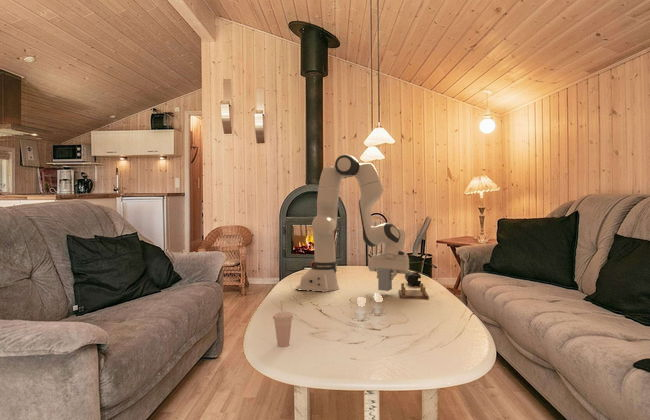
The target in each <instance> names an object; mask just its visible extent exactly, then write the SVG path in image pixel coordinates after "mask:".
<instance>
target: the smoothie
mask: <svg viewBox="0 0 650 420" xmlns="http://www.w3.org/2000/svg"><path fill="white" fill-rule="evenodd" d="M293 318H294V316H293V313H291V312H285V311H284V312H283V300H280V312H277V313H274V314H273V315H272V319H273V321H274V329H275V336H276V343H277V344H276V345H277V346H278V347H280V348H283V347H284V348H285V347H288V346H290V340H291V333H292V332H291V330H292V321H293V320H292V319H293Z"/></svg>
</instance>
